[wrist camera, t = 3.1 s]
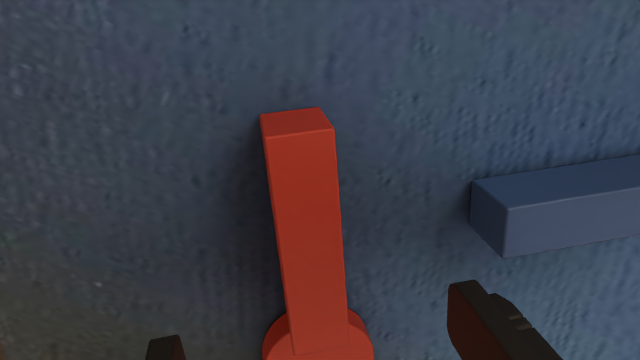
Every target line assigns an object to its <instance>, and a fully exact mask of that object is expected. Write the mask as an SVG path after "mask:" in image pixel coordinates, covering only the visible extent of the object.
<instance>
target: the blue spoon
mask: <svg viewBox="0 0 640 360" xmlns="http://www.w3.org/2000/svg"><path fill="white" fill-rule="evenodd" d="M470 226H471V227H472V228H473V229H474V230H475V231H476V232H477V233H478V234H479V235H480V236H481V237H482V238H483V239H484V240H485V241H486V242H487V244H488V245H489V246H490V247H491V248H492V249H493V250H494V251H495V252H496V253H497V254H498V255H499V256H500V257H501V258H503V259H506V258H512V257H518V256H523V255H529V254H534V253H540V252H546V251H551V250H557V249H562V248H568V247H574V246H579V245H585V244H590V243H596V242H602V241H607V240H613V239H619V238H624V237H630V236H635V235H640V154H639V155H632V156H626V157H619V158H612V159H606V160H599V161H593V162H586V163H580V164H573V165H567V166H560V167H554V168H547V169H541V170H534V171H528V172H521V173H515V174H508V175H502V176H495V177H488V178H482V179H475V180H473V181H472V191H471V208H470Z"/></svg>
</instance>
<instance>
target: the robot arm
mask: <svg viewBox="0 0 640 360" xmlns="http://www.w3.org/2000/svg"><path fill="white" fill-rule="evenodd" d="M447 329H448V333H449V337H450V340H451V342H452V344H453V346H454V347H455V349H456V351H457V352H458V354H459V355H460V357H461V359H462V360H563V359H562V358H561V357H560V356H559V355H558V354H557V353H556V352H555V350H554V349H553V348H552V347H551V346H550V345H549V344H548V343H547V342H546V340H545V339H544V338H543V337H542V336H541V335H540V334H539V333H538V331H537V330H536V329H535V328H532V325H531V324H530V323H529V321H528V320H527V319H526V318H525V317H523V315H522V314H521V312H520V311H519V310H518V309H517V308H516V307H515V306H514V305H513V304H512V303H511V302H510V301H508V300H506V299H505V298H503V297H501V296H500V295H498V294H496V293H494V294H488V293H487V292H486V291H485V290H484V289H483V287H482V286H481V285H480V284H479V283H478V282H477V281H476V280H469V281H463V282H458V283H453V284H450V285H449V288H448V310H447ZM145 360H186V358H185V355H184V351H183V347H182V343H181V340H180V337H179V335H172V336H167V337H162V338H156V339H151V340H150V342H149V345H148V349H147V354H146V359H145Z"/></svg>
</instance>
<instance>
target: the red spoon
mask: <svg viewBox="0 0 640 360" xmlns="http://www.w3.org/2000/svg"><path fill="white" fill-rule="evenodd" d="M259 119H260V126H261V133H262V140H263V148H264V155H265V162H266V169H267V176H268V184H269V191H270V198H271V205H272V212H273V220H274V227H275V234H276V241H277V248H278V256H279V263H280V270H281V277H282V284H283V292H284V299H285V306H286V313H285V314H283V315H282V316H281V317H279V318H278V319H277V320H276V321H275V322H274V323H273V325H272V326H271V327H270V329H269V330H268V332H267V334H266V336H265V338H264V341H263V346H262V356H263V360H374V348H373V345H372V342H371V340H370V337H369V335H368V332H367V330H366V327H365V325H364V323H363V321H362V320H361V318H360V317H359V316H358V315H357V314H356V313H355V312H354V311H352V310H351V309H349V308H347V296H346V282H345V268H344V254H343V239H342V225H341V211H340V197H339V183H338V168H337V154H336V140H335V129H334V128H333V126H332V125H331V123H330V122H329V120H328V119H327V118H326V116H325V115H324V113H323V112H322V111H321V109H320V108H319V107H314V108H306V109H298V110H290V111H282V112H274V113H266V114H261V115H260V116H259Z"/></svg>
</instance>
